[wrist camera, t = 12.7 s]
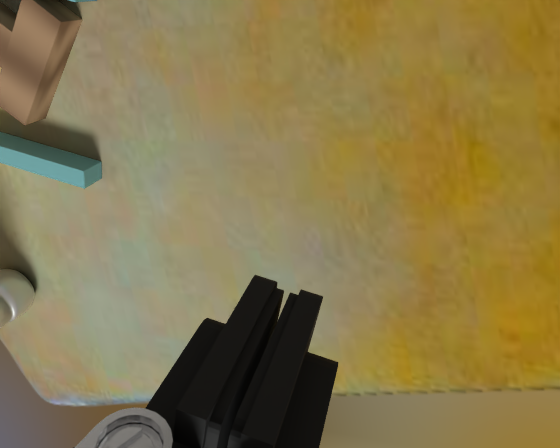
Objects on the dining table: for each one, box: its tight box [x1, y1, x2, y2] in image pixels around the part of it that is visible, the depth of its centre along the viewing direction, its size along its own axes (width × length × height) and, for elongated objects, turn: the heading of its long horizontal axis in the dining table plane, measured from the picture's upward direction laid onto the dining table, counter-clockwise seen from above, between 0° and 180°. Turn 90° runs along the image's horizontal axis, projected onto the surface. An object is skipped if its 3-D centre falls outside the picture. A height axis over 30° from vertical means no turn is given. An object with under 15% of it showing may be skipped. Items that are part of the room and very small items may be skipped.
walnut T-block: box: [0, 0, 82, 125], centre depth 45 cm, size 12×12×3 cm
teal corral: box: [0, 0, 102, 189], centre depth 46 cm, size 20×20×3 cm
